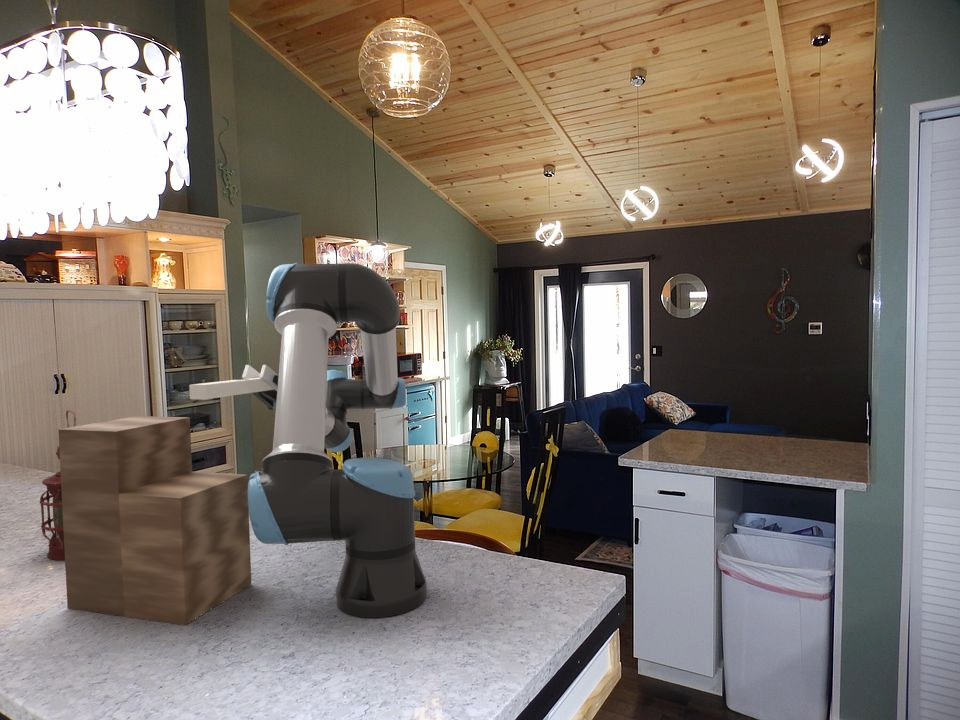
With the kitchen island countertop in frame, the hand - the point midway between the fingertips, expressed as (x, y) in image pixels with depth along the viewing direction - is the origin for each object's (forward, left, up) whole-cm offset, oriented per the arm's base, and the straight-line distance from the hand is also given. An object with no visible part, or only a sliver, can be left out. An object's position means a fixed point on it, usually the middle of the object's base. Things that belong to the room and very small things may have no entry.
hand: (254, 371), depth 122 cm
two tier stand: (-9, +18, -38) cm, 43 cm away
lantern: (+26, +33, -38) cm, 57 cm away
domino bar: (-3, +3, -4) cm, 5 cm away
